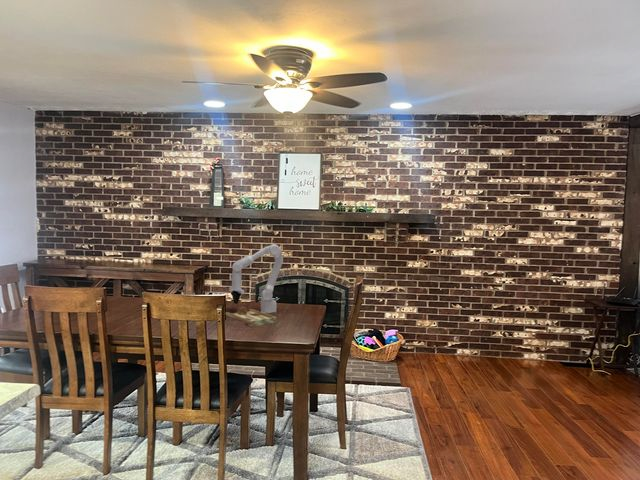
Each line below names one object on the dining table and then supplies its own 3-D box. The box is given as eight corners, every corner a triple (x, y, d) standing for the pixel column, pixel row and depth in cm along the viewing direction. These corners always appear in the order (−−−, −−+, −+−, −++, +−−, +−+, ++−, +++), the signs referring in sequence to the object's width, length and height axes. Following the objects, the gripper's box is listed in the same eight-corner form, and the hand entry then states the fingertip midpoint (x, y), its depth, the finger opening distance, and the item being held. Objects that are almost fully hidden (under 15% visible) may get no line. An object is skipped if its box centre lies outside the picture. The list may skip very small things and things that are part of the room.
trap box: (250, 313, 277) (250, 308, 277) (276, 322, 257) (276, 317, 257) (225, 317, 265) (225, 312, 265) (250, 326, 245) (250, 321, 245)
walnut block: (243, 313, 271) (243, 306, 271) (246, 314, 268) (246, 307, 268) (237, 313, 268) (237, 307, 268) (241, 315, 265) (241, 308, 265)
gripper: (224, 280, 275) (224, 302, 276) (237, 283, 264) (236, 306, 265) (234, 279, 279) (234, 300, 280) (247, 282, 269) (246, 305, 270)
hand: (236, 303), depth 273 cm, fingers closed
